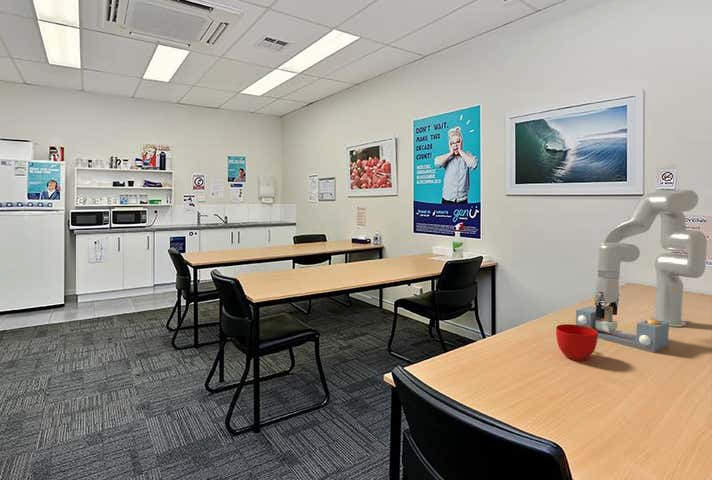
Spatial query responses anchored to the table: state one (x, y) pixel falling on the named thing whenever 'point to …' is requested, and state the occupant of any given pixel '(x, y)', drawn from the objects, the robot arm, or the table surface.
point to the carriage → (606, 321)
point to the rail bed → (645, 338)
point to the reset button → (653, 321)
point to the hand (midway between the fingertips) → (606, 316)
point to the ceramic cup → (576, 341)
